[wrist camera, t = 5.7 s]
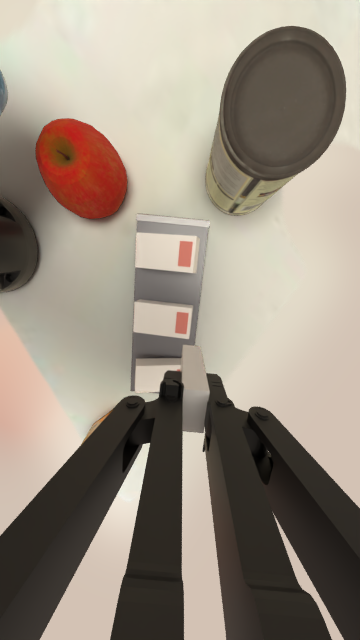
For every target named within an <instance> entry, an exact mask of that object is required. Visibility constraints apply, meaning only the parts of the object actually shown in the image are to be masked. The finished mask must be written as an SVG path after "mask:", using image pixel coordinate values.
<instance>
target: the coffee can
mask: <svg viewBox="0 0 360 640" xmlns="http://www.w3.org/2000/svg"><path fill="white" fill-rule="evenodd" d="M345 100H346V81H345V75H344V70H343V67H342V64H341V61H340V59H339V57H338V55H337V53H336V52H335V50H334V49H333V47H332V46H331V45H330V44H329V43H328V41H327V40H326V39H325V38H323V37H322V36H321V35H319V34H318V33H316V32H314V31H312V30H310V29H307V28H303V27H297V26H286V27H280V28H276V29H273V30H270V31H268V32H266V33H264V34H262V35H261V36H259V37H258V38H256V39H255V40H254V41H252V42H251V43H250V44H249V45H248V46H247V47H246V48H245V49H244V50H243V51H242V52H241V54H240V55H239V57H238V58H237V59H236V61H235V63H234V64H233V66H232V68H231V70H230V72H229V74H228V76H227V79H226V81H225V84H224V88H223V92H222V96H221V103H220V113H219V117H218V122H217V126H216V131H215V136H214V140H213V144H212V149H211V154H210V159H209V163H208V166H207V170H206V176H205V182H206V189H207V193H208V195H209V197H210V199H211V201H212V202H213V204H214V205H215V206H216V207H217V208H218V209H219V210H221V211H222V212H224V213H227V214H230V215H237V216H238V215H244V214H248V213H250V212H252V211H254V210H255V209H257V208H258V207H260V206H261V205H262V204H263V203H264V202H265V201H266V200H267V199H268V198H270V197H271V196H272V195H273V194H274V193H275V192H277V191H278V190H279V189H280V188H282V187H283V186H284V185H285V184H286V183H287V182H289V181H290V180H291V179H292V178H293V177H295V176H296V175H297V174H298V173H300V172H301V171H303V170H305V169H306V168H308V167H309V166H310V165H312V164H313V163H314V162H315V161H316V160H318V159H319V158H320V156H321V155H322V154H323V153H324V152H325V151H326V149H327V148H328V147H329V145H330V144H331V142H332V141H333V139H334V137H335V135H336V133H337V131H338V129H339V127H340V124H341V121H342V117H343V113H344V109H345Z"/></svg>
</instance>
